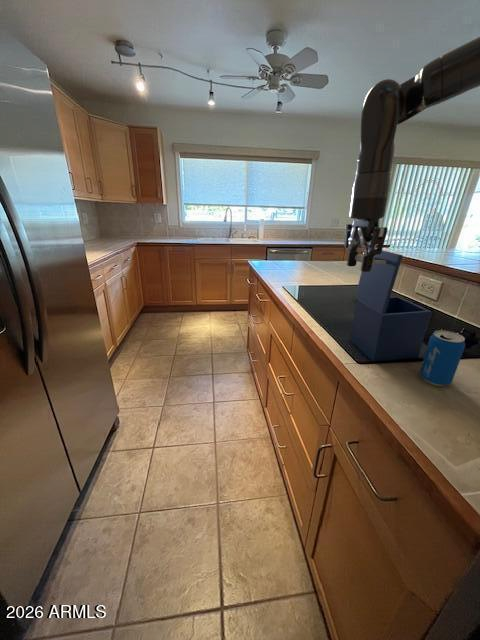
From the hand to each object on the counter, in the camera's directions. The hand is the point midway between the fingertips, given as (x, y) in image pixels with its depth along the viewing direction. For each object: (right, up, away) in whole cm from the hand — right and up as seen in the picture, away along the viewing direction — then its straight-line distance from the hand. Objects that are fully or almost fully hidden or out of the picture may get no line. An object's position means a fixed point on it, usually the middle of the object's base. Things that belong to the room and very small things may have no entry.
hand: (358, 268), depth 67 cm
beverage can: (+17, -28, -3) cm, 33 cm away
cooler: (+12, -22, +11) cm, 27 cm away
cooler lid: (+6, -2, +2) cm, 7 cm away
